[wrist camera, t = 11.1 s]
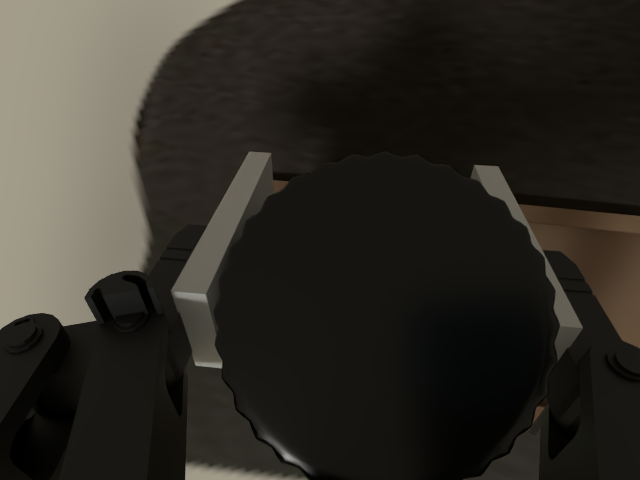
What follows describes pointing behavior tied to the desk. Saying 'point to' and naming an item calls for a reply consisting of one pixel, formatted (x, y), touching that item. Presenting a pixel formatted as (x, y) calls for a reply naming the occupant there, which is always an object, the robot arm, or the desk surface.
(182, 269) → the robot arm
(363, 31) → the desk surface
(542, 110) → the desk surface
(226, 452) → the desk surface
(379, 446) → the supplement bottle
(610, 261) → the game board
